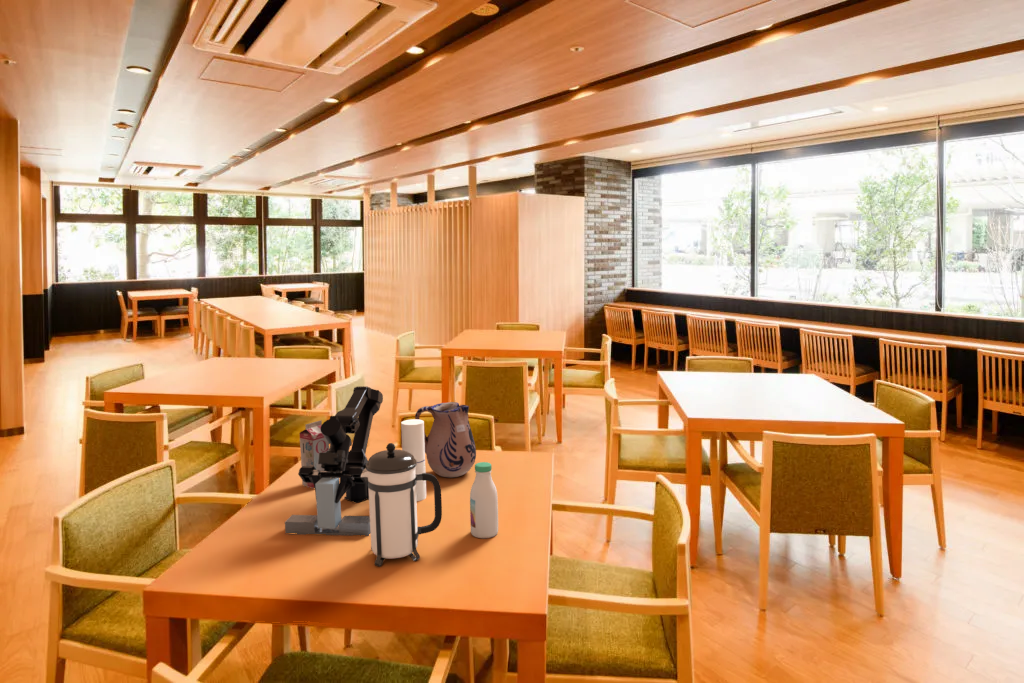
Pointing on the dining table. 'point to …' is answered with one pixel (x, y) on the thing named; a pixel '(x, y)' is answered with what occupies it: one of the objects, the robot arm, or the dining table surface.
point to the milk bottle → (483, 503)
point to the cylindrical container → (415, 450)
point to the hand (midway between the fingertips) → (326, 502)
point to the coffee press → (396, 504)
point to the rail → (346, 527)
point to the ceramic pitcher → (449, 440)
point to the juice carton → (312, 447)
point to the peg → (327, 503)
